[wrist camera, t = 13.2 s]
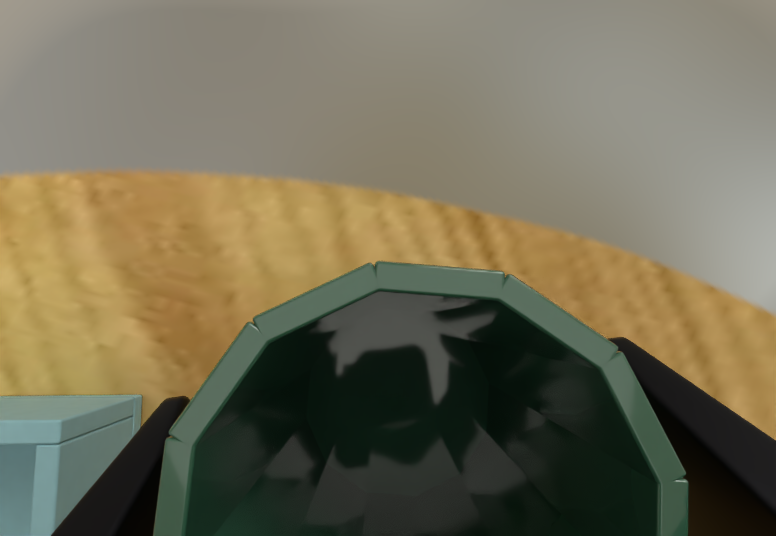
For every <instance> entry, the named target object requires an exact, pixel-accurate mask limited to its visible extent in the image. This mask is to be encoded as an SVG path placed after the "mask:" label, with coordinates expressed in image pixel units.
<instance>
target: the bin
mask: <svg viewBox="0 0 776 536" xmlns="http://www.w3.org/2000/svg"><path fill="white" fill-rule="evenodd" d="M141 407H142V395H61V396H0V536H51V534H52V533H53V532H54V531H55V530H56V529H57V527H58V526H59V525H60V524H61V523H62V521H63V520H64V519H65V518H66V517H67V515H68V514H69V513H70V512H71V511H72V509H73V508H74V507H75V506H76V505H77V503H78V502H79V501H80V500H81V499H82V497H83V496H84V495H85V494H86V493H87V491H88V490H89V489H90V488H91V487H92V485H93V484H94V483H95V482H96V481H97V479H98V478H99V477H100V476H101V475H102V474H103V472H104V471H105V470H106V469H107V468H108V466H109V465H110V464H111V463H112V462H113V460H114V459H115V458H116V457H117V456H118V454H119V453H120V452H121V451H122V450H123V448H124V447H125V446H126V445H127V444H128V442H129V441H130V440H131V439H132V438H133V436H134V435H135V434H136V433H137V432H138V430H139V429H140V427H141Z"/></svg>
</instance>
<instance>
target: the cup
mask: <svg viewBox="0 0 776 536" xmlns="http://www.w3.org/2000/svg"><path fill="white" fill-rule="evenodd" d="M169 435H170V437H168V438H166V440H165V446H164V454H163V462H162V469H161V477H160V485H159V493H158V500H157V508H156V516H155V524H154V531H153V536H688V496H689V483H688V481H687V480H686V479H684V478H683V477H685V476H686V472H685V470H684V468H683V466H682V464H681V462H680V460H679V458H678V457H677V455H676V453H675V451H674V449H673V447H672V445H671V443H670V441H669V439H668V437H667V435H666V434H665V432H664V430H663V428H662V426H661V424H660V422H659V420H658V418H657V416H656V414H655V412H654V411H653V409H652V407H651V405H650V403H649V401H648V399H647V397H646V395H645V393H644V391H643V389H642V388H641V386H640V384H639V382H638V380H637V378H636V376H635V374H634V372H633V370H632V368H631V366H630V365H629V363H628V361H627V359H626V357H625V355H624V353H622V352H620V351H618V347H617V345H615V344H614V343H612V342H611V341H609V340H608V339H606V338H605V337H603V336H602V335H600V334H599V333H598V332H596V331H595V330H593V329H592V328H590V327H589V326H587V325H586V324H584V323H583V322H581V321H580V320H578V319H577V318H575V317H574V316H572V315H571V314H569V313H568V312H566V311H565V310H563V309H562V308H560V307H559V306H558V305H556V304H555V303H553V302H552V301H550V300H549V299H547V298H546V297H544V296H543V295H541V294H540V293H538V292H537V291H535V290H534V289H532V288H531V287H529V286H528V285H526V284H525V283H523V282H522V281H521V280H519V279H518V278H516V277H515V276H513V275H511V274H507V275H505V274H504V272H503V271H496V270H484V269H472V268H459V267H447V266H435V265H422V264H410V263H398V262H385V261H377V262H376V263H375V267H374V265H373V264H372V263H367V264H365V265H363V266H361V267H358V268H356V269H354V270H352V271H350V272H348V273H346V274H344V275H341V276H339V277H337V278H335V279H333V280H331V281H329V282H326V283H324V284H322V285H320V286H318V287H316V288H314V289H312V290H309V291H307V292H305V293H303V294H301V295H299V296H297V297H294V298H292V299H290V300H288V301H286V302H284V303H282V304H280V305H277V306H275V307H273V308H271V309H269V310H267V311H265V312H263V313H260V314H258V315H256V316H255V317H254V318H253V322H247V323H246V324H245V326H244V327H243V329H242V330H241V331H240V333H239V334H238V335H237V337H236V338H235V340H234V341H233V342H232V344H231V345H230V347H229V348H228V349H227V351H226V352H225V354H224V355H223V356H222V358H221V359H220V360H219V362H218V363H217V365H216V366H215V367H214V369H213V370H212V372H211V373H210V374H209V376H208V377H207V379H206V380H205V381H204V383H203V384H202V385H201V387H200V388H199V390H198V391H197V392H196V394H195V395H194V397H193V398H192V399H191V401H190V402H189V404H188V405H187V406H186V408H185V409H184V410H183V412H182V413H181V415H180V416H179V417H178V419H177V420H176V422H175V423H174V424H173V426H172V427H171V428H170V430H169Z"/></svg>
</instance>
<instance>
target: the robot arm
mask: <svg viewBox="0 0 776 536" xmlns="http://www.w3.org/2000/svg"><path fill="white" fill-rule="evenodd" d="M608 340H609V341H611V342H612V343H614V344H615V345H617V347H618V351H620V352H622V353H624V355H625V357H626V359H627V361H628V363H629V365H630V366H631V368H632V370H633V372H634V374H635V376H636V378H637V380H638V382H639V384H640V386H641V388H642V389H643V391H644V393H645V395H646V397H647V399H648V401H649V403H650V405H651V407H652V409H653V411H654V412H655V414H656V416H657V418H658V420H659V422H660V424H661V426H662V428H663V430H664V432H665V434H666V435H667V437H668V439H669V441H670V443H671V445H672V447H673V449H674V451H675V453H676V455H677V457H678V458H679V460H680V462H681V464H682V466H683V468H684V470H685V472H686V476H685V477H683V478H684V479H686V480H687V481H688V483H689V496H688V536H776V441H775V440H774V439H773V438H771V437H770V436H768V435H767V434H765V433H764V432H762V431H761V430H759V429H758V428H756V427H755V426H754V425H752V424H751V423H749V422H748V421H746V420H745V419H743V418H742V417H740V416H739V415H738V414H736V413H735V412H733V411H732V410H730V409H729V408H727V407H726V406H724V405H723V404H722V403H720V402H719V401H717V400H716V399H714V398H713V397H711V396H710V395H708V394H707V393H706V392H704V391H703V390H701V389H700V388H698V387H697V386H695V385H694V384H692V383H691V382H689V381H688V380H687V379H685V378H684V377H682V376H681V375H679V374H678V373H676V372H675V371H673V370H672V369H671V368H669V367H668V366H666V365H665V364H663V363H662V362H660V361H659V360H657V359H656V358H655V357H653V356H652V355H650V354H649V353H647V352H646V351H644V350H643V349H641V348H640V347H638V346H637V345H636V344H634V343H633V342H631V341H630V340H628V339H626V338H624V337H617V338H609V339H608ZM189 402H190V400H189V398H188V397H186V396H180V397H172V398H167V399H165V400H164V401H163V402H162V403H161V404H160V405H159V407H158V408H157V409H156V410H155V411H154V413H153V414H152V415H151V416H150V417H149V418H148V420H147V421H146V422H145V423H144V424H143V426H142V427H141V428H140V429H139V430H138V432H137V433H136V434H135V435H134V436H133V438H132V439H131V440H130V441H129V442H128V444H127V445H126V446H125V447H124V448H123V450H122V451H121V452H120V453H119V454H118V456H117V457H116V458H115V459H114V460H113V462H112V463H111V464H110V465H109V466H108V468H107V469H106V470H105V471H104V472H103V474H102V475H101V476H100V477H99V478H98V479H97V481H96V482H95V483H94V484H93V485H92V487H91V488H90V489H89V490H88V491H87V493H86V494H85V495H84V496H83V497H82V499H81V500H80V501H79V502H78V503H77V505H76V506H75V507H74V508H73V509H72V511H71V512H70V513H69V514H68V515H67V517H66V518H65V519H64V520H63V521H62V523H61V524H60V525H59V526H58V527H57V529H56V530H55V531H54V532H53V533H52V534H51V536H153V531H154V524H155V516H156V508H157V500H158V493H159V485H160V477H161V469H162V462H163V454H164V446H165V440H166V438H168V437H170V435H169V430H170V428H171V427H172V426H173V424H174V423H175V422H176V420H177V419H178V417H179V416H180V415H181V413H182V412H183V410H184V409H185V408H186V406H187V405H188V404H189Z"/></svg>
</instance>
